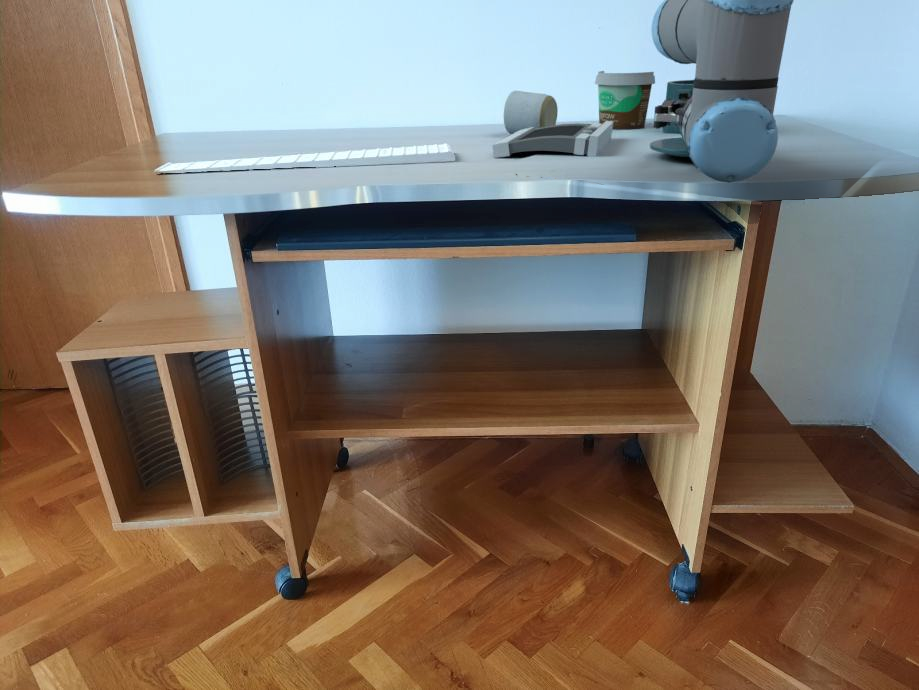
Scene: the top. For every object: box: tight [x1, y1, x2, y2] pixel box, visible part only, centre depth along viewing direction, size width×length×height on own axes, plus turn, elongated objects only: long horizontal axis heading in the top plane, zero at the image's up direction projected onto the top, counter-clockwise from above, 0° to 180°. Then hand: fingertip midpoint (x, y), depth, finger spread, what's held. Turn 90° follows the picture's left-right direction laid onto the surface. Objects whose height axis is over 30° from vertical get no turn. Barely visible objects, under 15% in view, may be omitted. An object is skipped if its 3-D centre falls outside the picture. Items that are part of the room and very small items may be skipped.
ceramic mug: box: [503, 90, 558, 135], centre depth 119 cm, size 11×8×8 cm
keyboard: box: [154, 142, 456, 173], centre depth 99 cm, size 45×8×2 cm, turn 95°
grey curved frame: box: [491, 121, 613, 159], centre depth 103 cm, size 17×5×16 cm
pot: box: [662, 79, 694, 135], centre depth 114 cm, size 12×17×8 cm
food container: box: [594, 70, 656, 130], centre depth 123 cm, size 12×6×10 cm, turn 42°
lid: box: [649, 85, 694, 158], centre depth 88 cm, size 13×13×9 cm
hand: (697, 102), depth 92 cm, fingers closed on lid, 3 cm apart
